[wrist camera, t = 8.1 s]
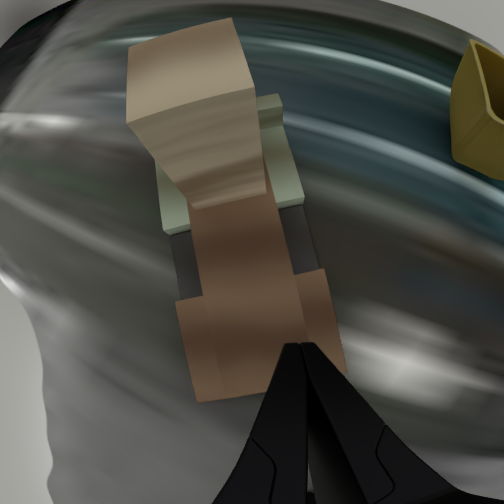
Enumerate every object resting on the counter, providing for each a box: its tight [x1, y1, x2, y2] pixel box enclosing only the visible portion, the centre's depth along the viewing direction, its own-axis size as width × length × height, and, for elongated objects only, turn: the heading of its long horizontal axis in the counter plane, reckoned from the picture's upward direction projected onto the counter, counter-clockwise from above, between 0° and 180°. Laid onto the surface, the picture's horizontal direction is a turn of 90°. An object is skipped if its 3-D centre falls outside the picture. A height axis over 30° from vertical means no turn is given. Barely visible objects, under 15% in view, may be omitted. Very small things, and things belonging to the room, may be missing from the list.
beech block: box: [126, 18, 267, 210], centre depth 16 cm, size 5×5×11 cm
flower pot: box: [450, 39, 504, 181], centre depth 18 cm, size 9×9×9 cm
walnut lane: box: [155, 93, 347, 403], centre depth 20 cm, size 19×10×4 cm, turn 12°
